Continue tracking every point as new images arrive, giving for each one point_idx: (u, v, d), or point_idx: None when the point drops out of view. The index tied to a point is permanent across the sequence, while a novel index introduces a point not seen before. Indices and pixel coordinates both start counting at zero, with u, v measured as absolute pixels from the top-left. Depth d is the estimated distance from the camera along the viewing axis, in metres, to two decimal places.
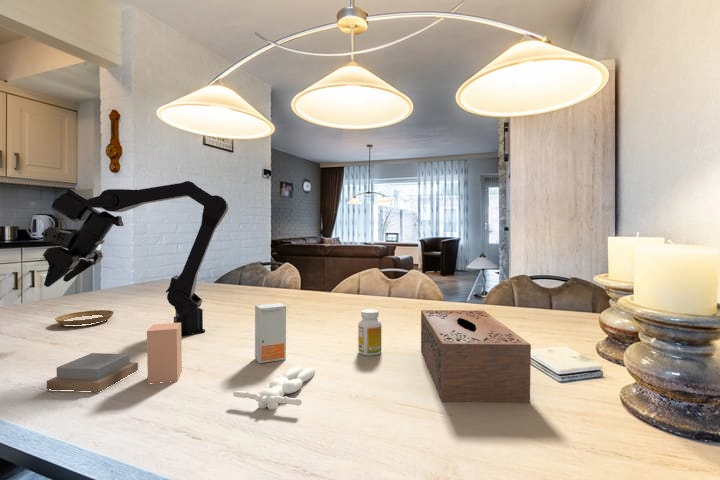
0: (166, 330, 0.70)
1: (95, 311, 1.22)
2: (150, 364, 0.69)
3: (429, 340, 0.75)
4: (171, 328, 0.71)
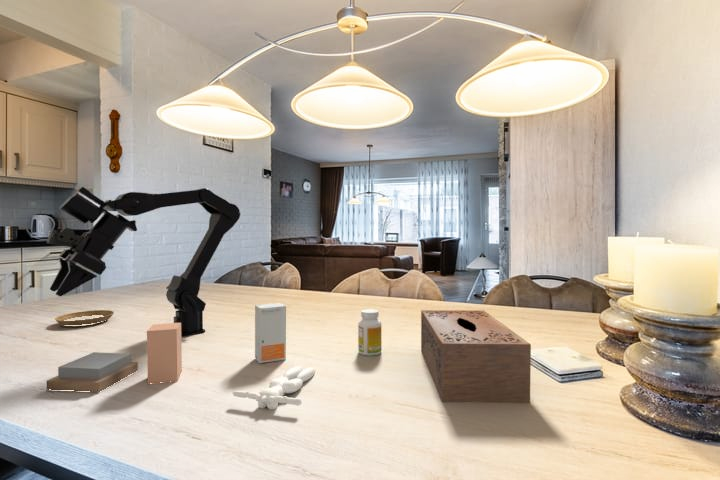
0: (166, 330, 0.70)
1: (95, 311, 1.22)
2: (150, 364, 0.69)
3: (429, 340, 0.75)
4: (171, 328, 0.71)
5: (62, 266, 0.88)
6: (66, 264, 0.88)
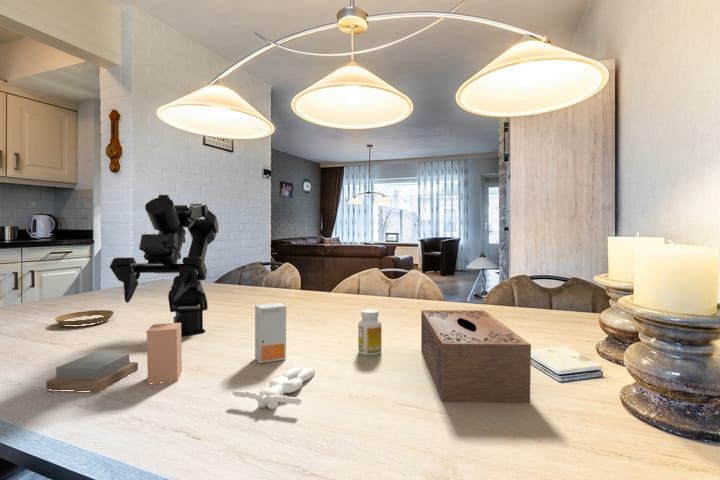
0: (166, 330, 0.70)
1: (95, 311, 1.22)
2: (150, 364, 0.69)
3: (429, 340, 0.75)
4: (171, 328, 0.71)
5: (130, 275, 0.80)
6: (131, 273, 0.81)
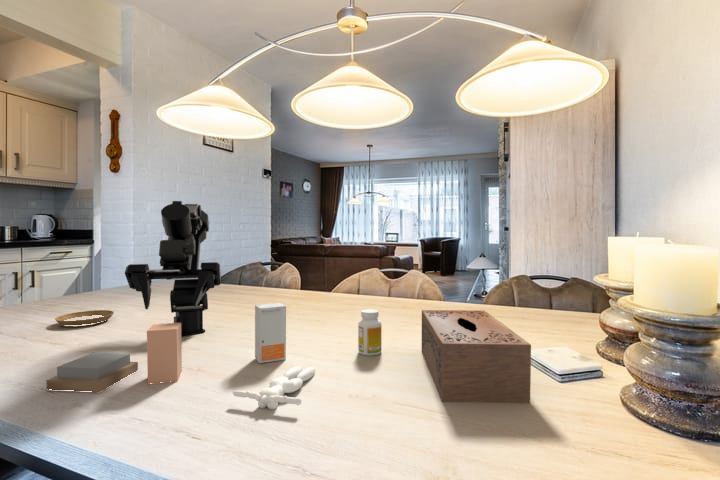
0: (166, 330, 0.70)
1: (95, 311, 1.22)
2: (150, 364, 0.69)
3: (429, 340, 0.75)
4: (171, 328, 0.71)
5: (147, 282, 0.79)
6: (147, 280, 0.80)
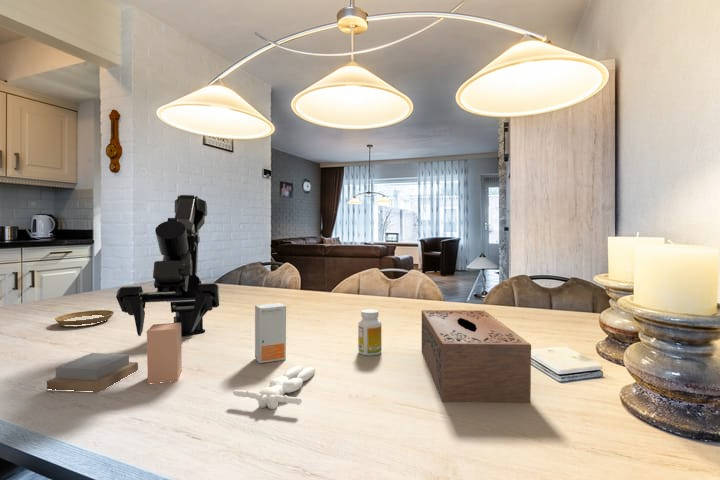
0: (166, 330, 0.70)
1: (95, 311, 1.22)
2: (150, 364, 0.69)
3: (429, 340, 0.75)
4: (171, 328, 0.71)
5: (140, 306, 0.74)
6: (140, 303, 0.75)
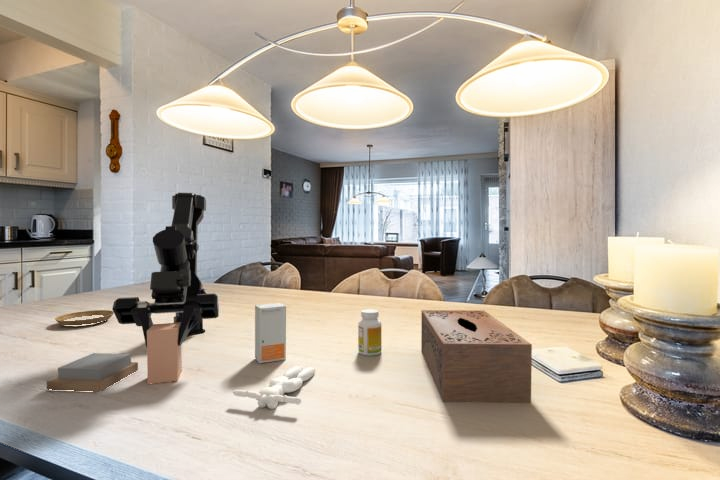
0: (166, 330, 0.70)
1: (95, 311, 1.22)
2: (150, 364, 0.69)
3: (430, 340, 0.75)
4: (171, 328, 0.71)
5: (148, 317, 0.72)
6: (149, 315, 0.73)
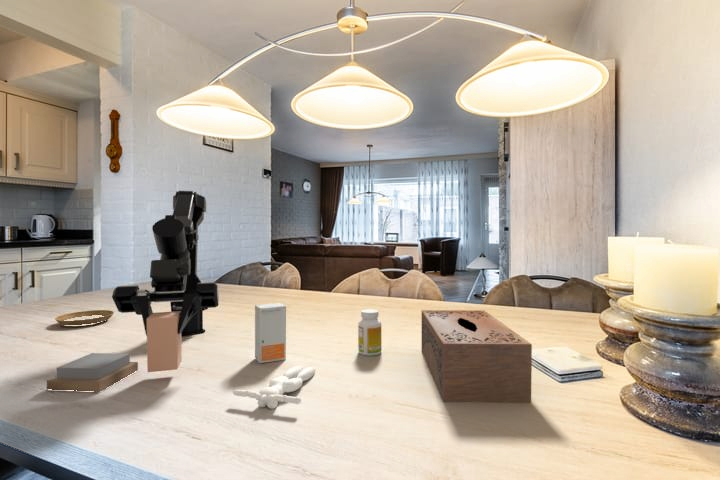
0: (166, 318, 0.70)
1: (95, 311, 1.22)
2: (150, 352, 0.69)
3: (430, 340, 0.75)
4: (171, 316, 0.70)
5: (148, 305, 0.72)
6: (148, 303, 0.73)
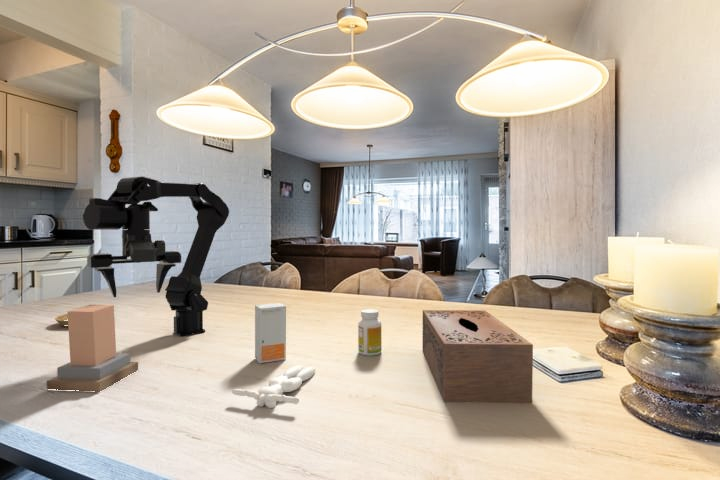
0: (84, 312, 0.68)
1: None
2: (72, 345, 0.68)
3: (431, 340, 0.75)
4: (90, 310, 0.68)
5: (113, 273, 0.85)
6: None
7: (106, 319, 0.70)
